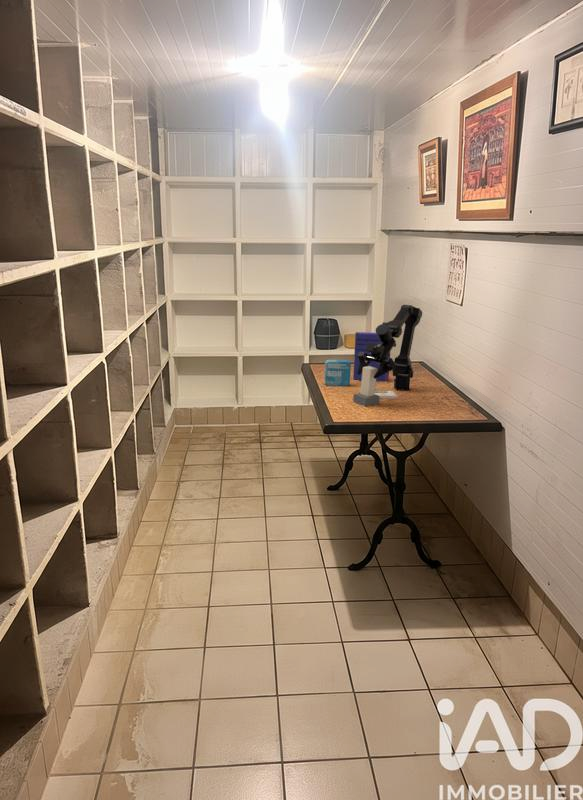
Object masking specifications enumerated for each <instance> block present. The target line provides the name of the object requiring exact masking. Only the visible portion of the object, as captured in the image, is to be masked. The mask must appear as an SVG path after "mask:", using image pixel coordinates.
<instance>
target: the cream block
mask: <svg viewBox="0 0 583 800" xmlns="http://www.w3.org/2000/svg"><path fill="white" fill-rule="evenodd" d="M376 372H377V368H374V367H371V366H367V367H363V371H362V381H360V382H361V383H360V390H359V391H360V392H359V393H360V394H362V395H365V396H373V395H375V386H376V387H377V381H376V379H374V375H375V373H376Z"/></svg>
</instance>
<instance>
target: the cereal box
mask: <svg viewBox="0 0 583 800" xmlns="http://www.w3.org/2000/svg"><path fill="white" fill-rule="evenodd" d="M354 334H355V335H354V336H355V337H354V355H353V372H352V373H353V375H352V376H353V377H352V378H353V379H354V380H359V381H358V382H361V381H362V373H361V374H360V375H358V369H359V363H360V361H359V359H358V358H357V354H358V353H359V352H364V353H367V355H368V356H369V357H371V355H370V354H369V353H370V352H368V351H366V350H365V349H366V346H367V343H369V344H374V345H378V344H380V342H381V341H380V340H379V338H378V336H377V333H376V332H363V331H362V332H360V331H359V332H358V331H356V332H355V333H354ZM389 354H390V356H389V357H388V356H387V357H388V358H391V351H390V352H389ZM368 366H371V367H374V368H377V370H378V369H379V367H380V364H379V363H375V362H370V363H369V364H368ZM389 377H390V371H389V372H387V373H385V374H383V375H381V376H379V377H378V378H376V382H386V381H388V382H389V381H390V380H389ZM354 380H353V381H354Z"/></svg>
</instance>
